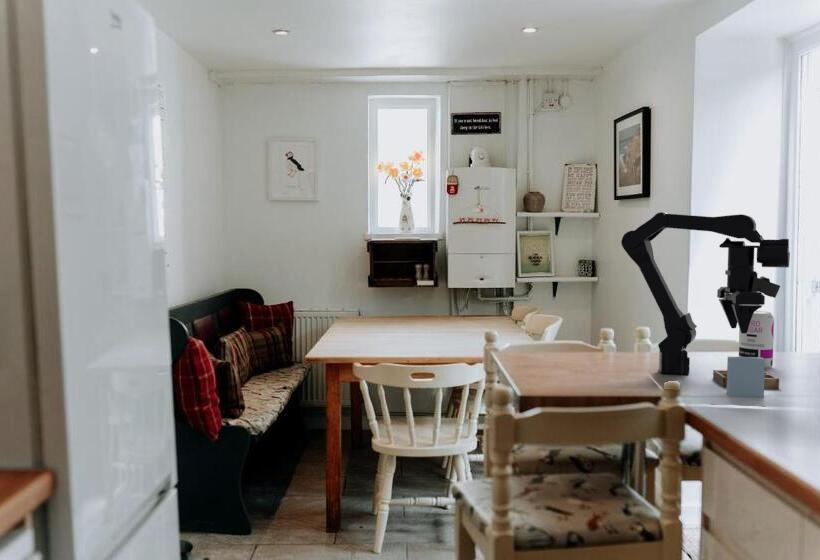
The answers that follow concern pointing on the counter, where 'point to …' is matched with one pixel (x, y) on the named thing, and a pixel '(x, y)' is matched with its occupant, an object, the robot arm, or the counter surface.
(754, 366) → the board
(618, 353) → the counter surface
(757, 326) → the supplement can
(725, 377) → the rack
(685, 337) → the robot arm
